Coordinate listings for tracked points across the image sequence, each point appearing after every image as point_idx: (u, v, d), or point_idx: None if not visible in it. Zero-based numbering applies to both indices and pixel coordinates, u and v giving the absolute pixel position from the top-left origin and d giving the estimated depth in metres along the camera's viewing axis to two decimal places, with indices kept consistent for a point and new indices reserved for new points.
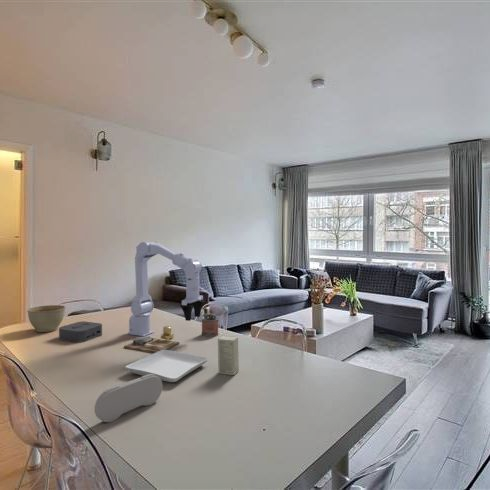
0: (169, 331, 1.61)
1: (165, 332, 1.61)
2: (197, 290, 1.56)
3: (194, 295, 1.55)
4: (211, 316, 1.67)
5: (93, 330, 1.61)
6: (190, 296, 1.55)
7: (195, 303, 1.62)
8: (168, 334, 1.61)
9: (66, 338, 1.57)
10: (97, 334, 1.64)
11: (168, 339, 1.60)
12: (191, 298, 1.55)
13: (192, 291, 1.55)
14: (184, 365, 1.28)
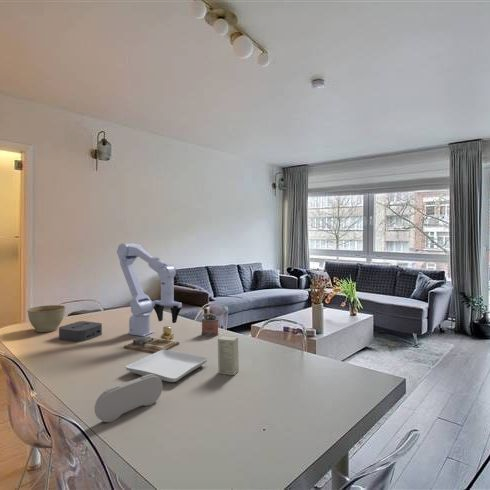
0: (169, 331, 1.61)
1: (165, 332, 1.61)
2: (162, 294, 1.60)
3: (161, 298, 1.61)
4: (211, 316, 1.67)
5: (93, 329, 1.62)
6: None
7: None
8: (168, 334, 1.61)
9: (66, 338, 1.58)
10: (97, 334, 1.64)
11: (168, 339, 1.60)
12: None
13: None
14: (184, 365, 1.28)
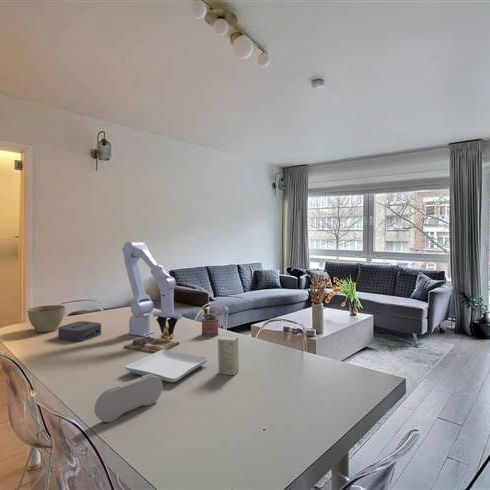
0: None
1: (165, 332, 1.61)
2: (162, 306, 1.60)
3: (161, 310, 1.61)
4: (211, 316, 1.67)
5: (92, 329, 1.62)
6: None
7: None
8: (168, 334, 1.61)
9: (65, 337, 1.58)
10: (96, 334, 1.64)
11: (168, 339, 1.60)
12: None
13: None
14: (184, 365, 1.28)
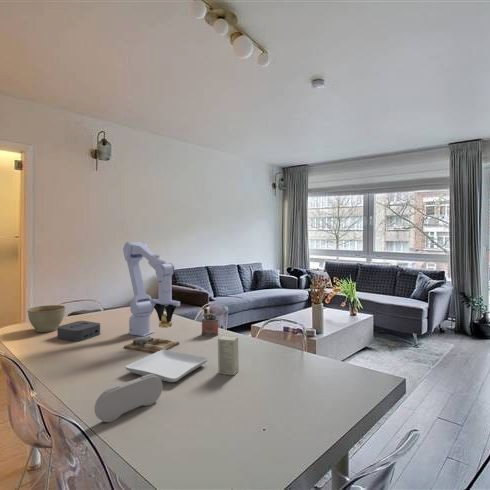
0: None
1: (163, 320, 1.56)
2: (160, 293, 1.55)
3: (158, 297, 1.56)
4: (211, 316, 1.67)
5: (90, 329, 1.62)
6: None
7: None
8: (166, 322, 1.56)
9: (64, 337, 1.59)
10: (95, 333, 1.64)
11: (166, 327, 1.55)
12: None
13: None
14: (184, 365, 1.28)
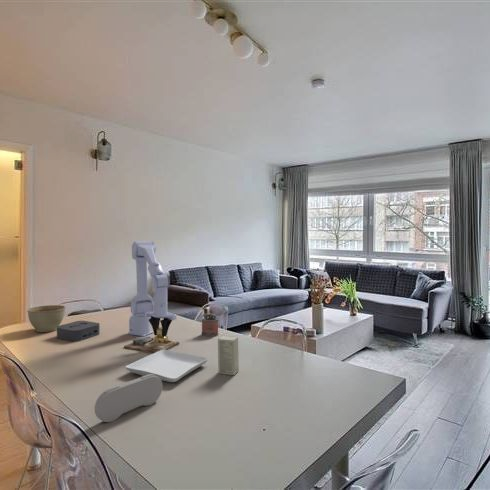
0: None
1: (159, 334, 1.48)
2: (155, 306, 1.47)
3: (153, 310, 1.48)
4: (211, 316, 1.67)
5: (89, 329, 1.62)
6: None
7: None
8: (162, 336, 1.48)
9: (63, 337, 1.59)
10: (94, 333, 1.64)
11: (162, 341, 1.47)
12: None
13: None
14: (184, 365, 1.28)
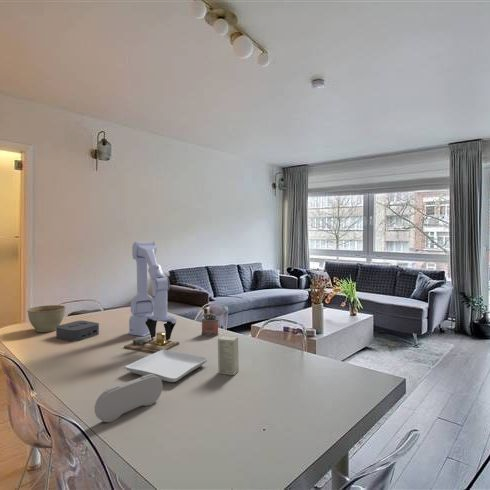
0: (163, 338, 1.49)
1: (159, 339, 1.48)
2: (155, 309, 1.47)
3: None
4: (211, 316, 1.67)
5: (88, 329, 1.62)
6: None
7: None
8: (162, 341, 1.48)
9: (62, 337, 1.59)
10: (93, 333, 1.65)
11: None
12: None
13: None
14: (184, 365, 1.28)
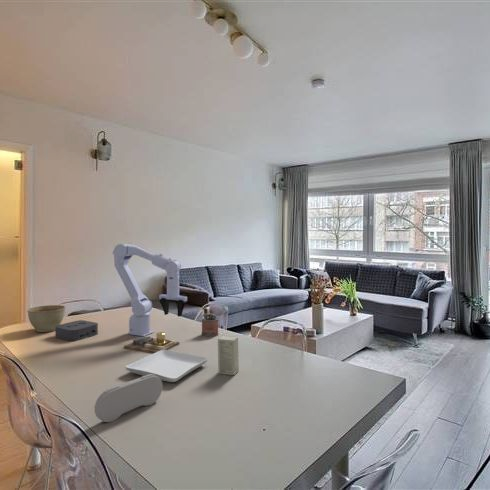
0: (163, 338, 1.49)
1: (159, 339, 1.48)
2: (168, 288, 1.64)
3: (167, 292, 1.66)
4: (211, 316, 1.67)
5: (87, 329, 1.62)
6: None
7: None
8: (162, 341, 1.48)
9: (61, 336, 1.60)
10: (92, 333, 1.65)
11: None
12: None
13: None
14: (184, 365, 1.28)
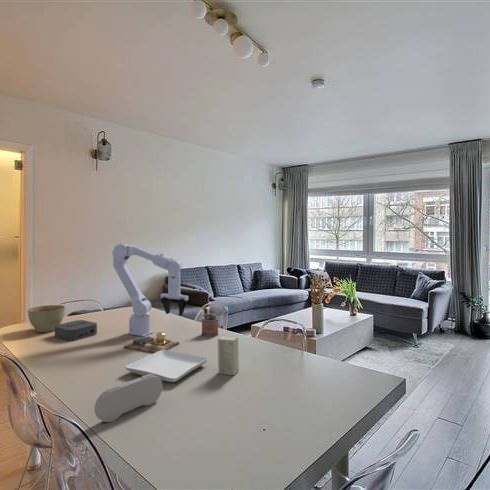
0: (163, 338, 1.49)
1: (159, 339, 1.48)
2: (169, 288, 1.66)
3: (168, 292, 1.68)
4: (211, 316, 1.67)
5: (86, 329, 1.62)
6: None
7: None
8: (162, 341, 1.48)
9: (60, 336, 1.60)
10: (91, 333, 1.65)
11: None
12: None
13: None
14: (184, 365, 1.28)
